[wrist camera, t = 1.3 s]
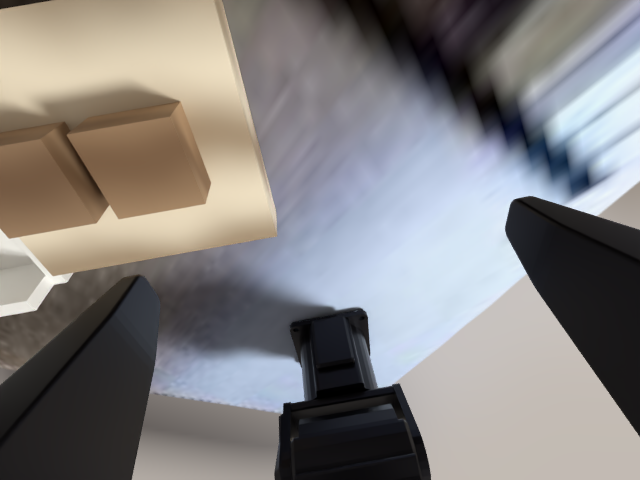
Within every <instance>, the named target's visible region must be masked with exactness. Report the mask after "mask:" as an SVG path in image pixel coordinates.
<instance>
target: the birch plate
mask: <svg viewBox="0 0 640 480" xmlns="http://www.w3.org/2000/svg"><path fill="white" fill-rule="evenodd" d="M179 101H181V104H182V107H183V109H184V112H185V115H186V117H187V120H188V122H189V125H190V128H191V130H192V133H193V136H194V138H195V141H196V144H197V146H198V149H199V152H200V154H201V157H202V160H203V162H204V165H205V168H206V170H207V173H208V176H209V178H210V181H211V186H210V189H209V193H208V197H207V200H206V204H203V205H197V206H192V207H186V208H180V209H175V210H169V211H164V212H158V213H152V214H147V215H141V216H135V217H130V218H124V219H118V218H117V216H116V214H115V213H114V211H113V210H112V208H111V206H110V205H109V206H108V208H107V209H106V211H105V212H104V214H103V215H102V216H101V218H100V219H99V221H98V222H97V223H96V224H90V225H85V226H79V227H73V228H68V229H62V230H56V231H51V232H45V233H39V234H34V235H28V236H22V237H19V238H20V240H21V241H22V242H23V243H24V244H25V245H26V246H27V248H28V249H29V250H30V251H31V252H32V253H33V254H34V256H35V257H36V258H37V259H38V260H39V261H40V262H41V264H42V265H43V266H44V267H45V268H46V269H47V270H48V272H49V273H50V274H51V275H52V276H57V275H63V274H69V273H74V272H80V271H85V270H91V269H97V268H102V267H108V266H113V265H119V264H125V263H130V262H136V261H141V260H147V259H153V258H158V257H164V256H169V255H175V254H181V253H186V252H192V251H197V250H203V249H208V248H214V247H220V246H225V245H231V244H236V243H242V242H248V241H253V240H259V239H264V238H270V237H276V236H277V220H276V210H275V206H274V202H273V198H272V194H271V190H270V186H269V182H268V178H267V174H266V171H265V167H264V163H263V159H262V155H261V151H260V147H259V143H258V139H257V135H256V132H255V128H254V124H253V120H252V116H251V112H250V108H249V104H248V100H247V96H246V93H245V89H244V85H243V81H242V77H241V73H240V69H239V65H238V61H237V57H236V54H235V50H234V46H233V42H232V38H231V34H230V30H229V26H228V22H227V18H226V15H225V11H224V7H223V3H222V0H52V1H46V2H40V3H34V4H28V5H22V6H17V7H11V8H5V9H0V133H1V132H7V131H12V130H18V129H24V128H30V127H35V126H41V125H47V124H53V123H58V122H64V121H65V123H66V124H67V126H68V128H69V129H70V131H72V130H73V129H74V128H75V127H77V126H78V125H79V124H80V123H82V122H83V121H84V120H85V119H87V118H88V117H93V116H99V115H105V114H110V113H116V112H122V111H128V110H133V109H139V108H145V107H151V106H156V105H162V104H168V103H174V102H179Z"/></svg>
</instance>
